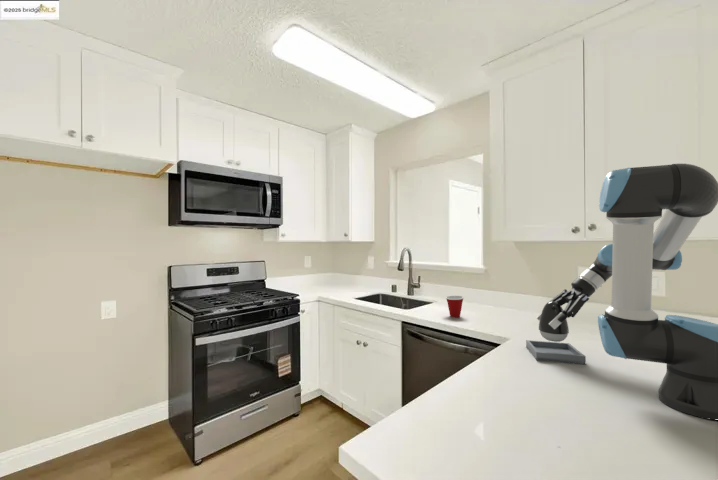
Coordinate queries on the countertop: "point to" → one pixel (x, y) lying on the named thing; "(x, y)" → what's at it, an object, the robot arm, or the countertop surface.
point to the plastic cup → (454, 305)
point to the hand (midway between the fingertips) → (545, 323)
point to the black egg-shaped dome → (546, 317)
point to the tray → (555, 352)
